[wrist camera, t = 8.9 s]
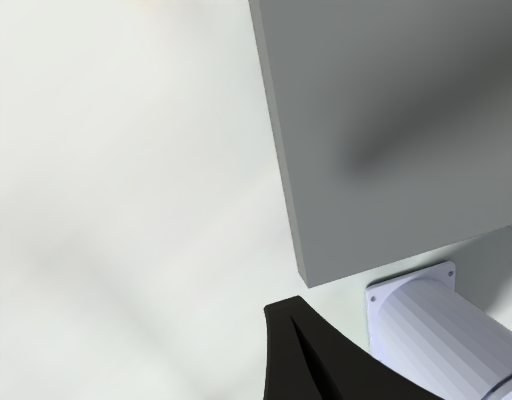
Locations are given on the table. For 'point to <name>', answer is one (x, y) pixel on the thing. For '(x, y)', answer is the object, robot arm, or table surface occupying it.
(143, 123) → the table surface
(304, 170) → the trap board
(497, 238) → the table surface
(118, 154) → the table surface
